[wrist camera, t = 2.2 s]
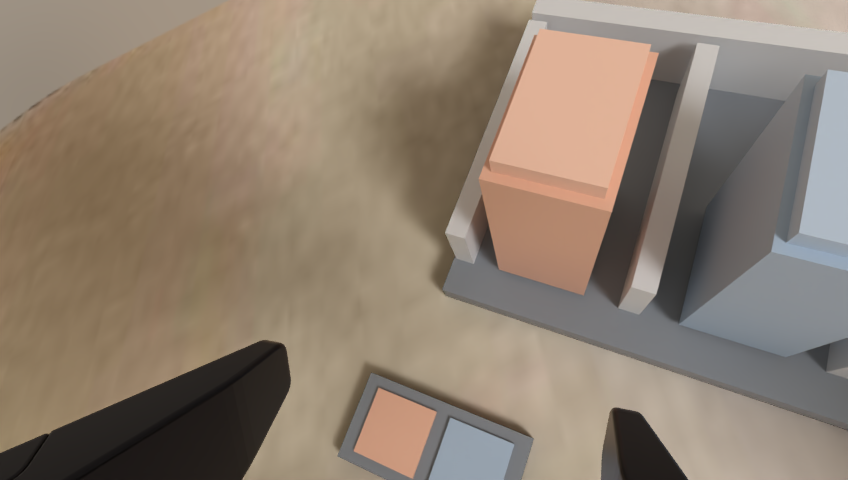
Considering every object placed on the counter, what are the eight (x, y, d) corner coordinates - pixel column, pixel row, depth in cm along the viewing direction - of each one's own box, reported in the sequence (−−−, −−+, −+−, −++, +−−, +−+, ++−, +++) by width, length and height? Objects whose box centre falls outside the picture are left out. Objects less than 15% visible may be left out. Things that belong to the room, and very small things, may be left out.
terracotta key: (498, 269, 21) (476, 168, 13) (534, 167, 22) (534, 18, 14) (583, 295, 20) (615, 201, 12) (616, 186, 21) (664, 37, 13)
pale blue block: (678, 324, 18) (783, 242, 11) (706, 207, 20) (817, 57, 12) (785, 357, 17) (989, 291, 10) (807, 230, 19) (1001, 83, 11)
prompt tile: (342, 455, 21) (336, 456, 20) (375, 374, 21) (370, 372, 21) (505, 533, 18) (503, 537, 18) (533, 438, 19) (533, 438, 19)
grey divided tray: (445, 295, 22) (428, 267, 18) (537, 54, 26) (537, -9, 22) (1092, 512, 15) (1266, 535, 12) (1090, 142, 19) (1222, 72, 15)
